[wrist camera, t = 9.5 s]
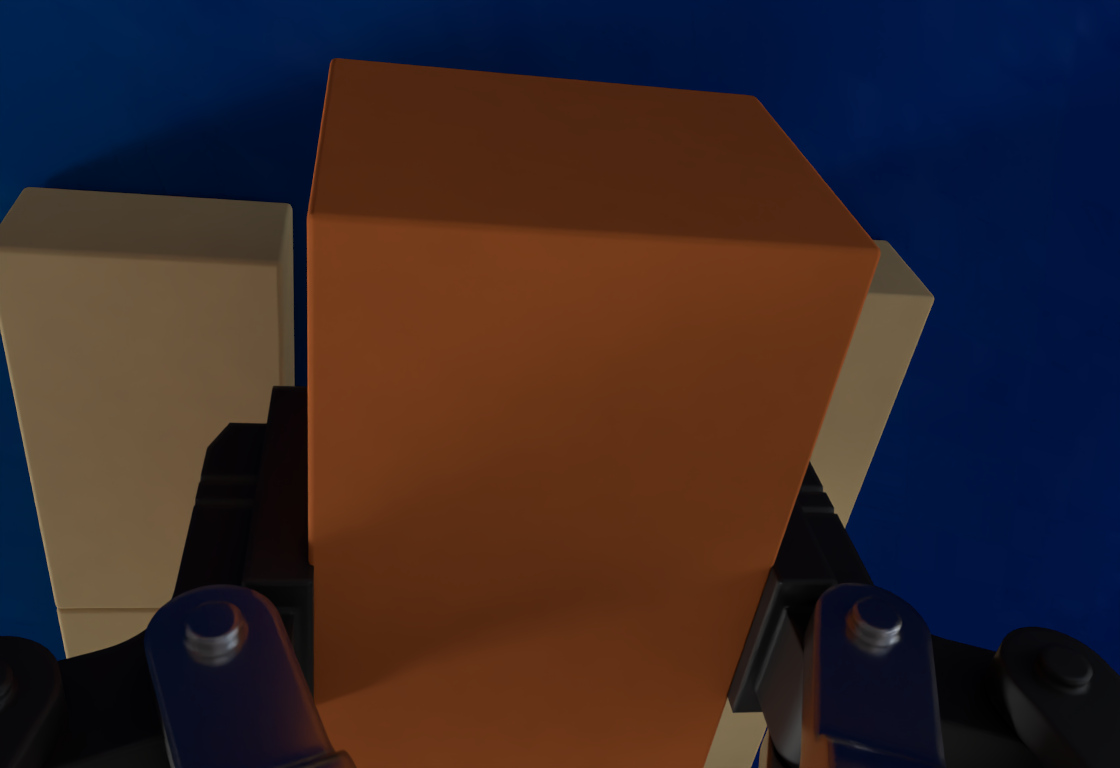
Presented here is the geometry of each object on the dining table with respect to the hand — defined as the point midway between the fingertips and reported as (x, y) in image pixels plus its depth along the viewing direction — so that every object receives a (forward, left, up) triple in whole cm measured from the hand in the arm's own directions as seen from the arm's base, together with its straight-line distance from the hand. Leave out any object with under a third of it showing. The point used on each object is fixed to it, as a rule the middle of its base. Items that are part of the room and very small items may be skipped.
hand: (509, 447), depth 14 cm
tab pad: (0, 0, -1) cm, 1 cm away
